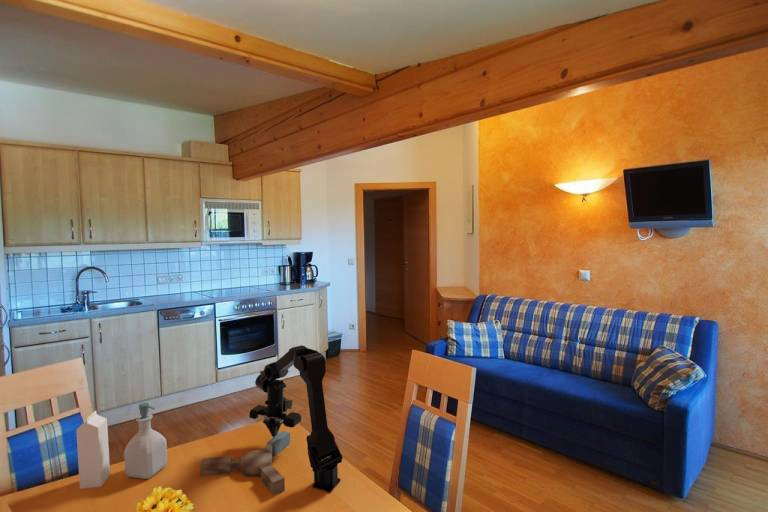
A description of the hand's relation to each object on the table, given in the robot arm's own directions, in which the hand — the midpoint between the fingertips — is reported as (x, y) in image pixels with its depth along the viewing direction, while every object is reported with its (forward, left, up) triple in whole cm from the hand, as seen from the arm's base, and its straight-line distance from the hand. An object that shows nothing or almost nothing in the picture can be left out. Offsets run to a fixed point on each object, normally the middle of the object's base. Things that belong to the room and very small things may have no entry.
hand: (274, 438), depth 150 cm
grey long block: (-3, +2, -3) cm, 5 cm away
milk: (+39, +39, -3) cm, 55 cm away
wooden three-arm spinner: (-3, +17, -3) cm, 17 cm away
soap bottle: (+29, +29, -3) cm, 41 cm away
